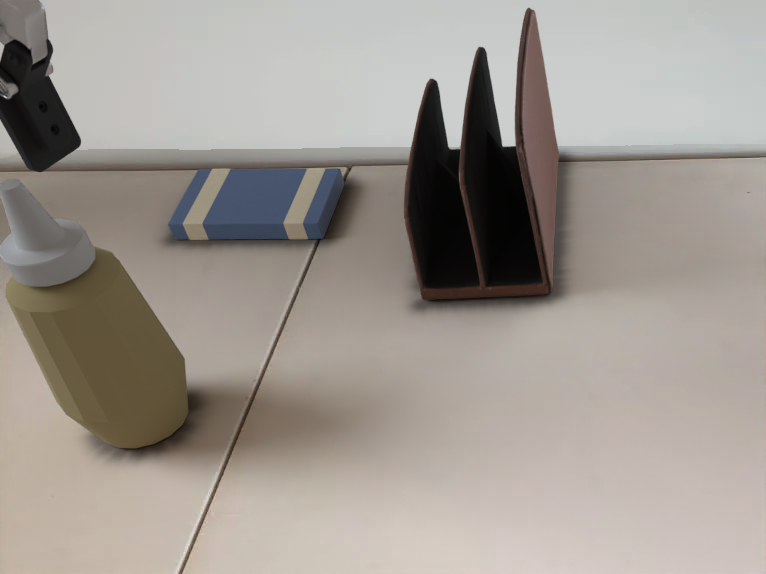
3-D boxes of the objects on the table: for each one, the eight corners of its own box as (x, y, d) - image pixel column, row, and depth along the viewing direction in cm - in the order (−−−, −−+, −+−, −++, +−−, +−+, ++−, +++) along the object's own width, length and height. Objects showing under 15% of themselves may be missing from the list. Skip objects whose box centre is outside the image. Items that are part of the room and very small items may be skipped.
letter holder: (559, 156, 94) (538, -10, 83) (553, 297, 81) (527, 123, 71) (445, 161, 94) (408, -6, 83) (421, 303, 81) (374, 129, 70)
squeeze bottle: (56, 451, 71) (-106, 215, 57) (126, 372, 76) (-7, 137, 62) (164, 472, 70) (26, 236, 56) (229, 390, 75) (116, 154, 61)
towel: (204, 184, 91) (198, 168, 90) (345, 184, 91) (340, 167, 90) (174, 240, 86) (167, 223, 85) (323, 239, 86) (318, 223, 85)
